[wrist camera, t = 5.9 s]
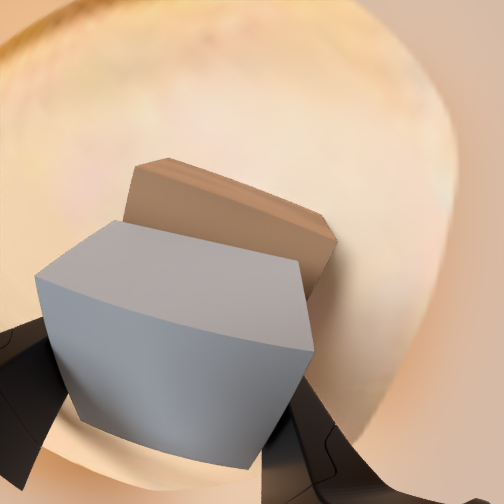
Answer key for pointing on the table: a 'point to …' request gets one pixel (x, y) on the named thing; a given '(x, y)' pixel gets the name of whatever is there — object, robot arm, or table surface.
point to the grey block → (177, 340)
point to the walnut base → (228, 215)
